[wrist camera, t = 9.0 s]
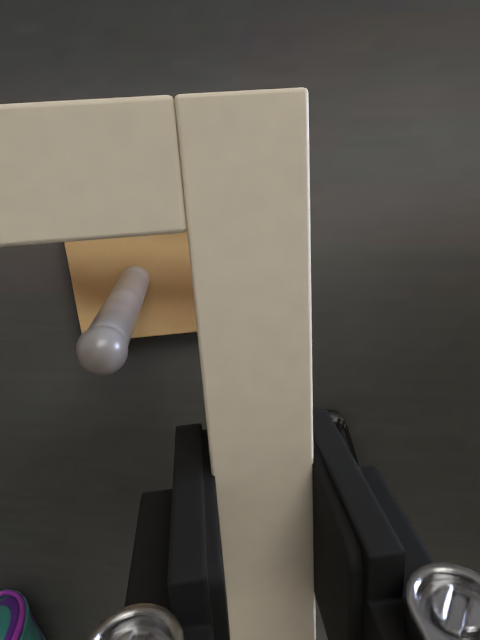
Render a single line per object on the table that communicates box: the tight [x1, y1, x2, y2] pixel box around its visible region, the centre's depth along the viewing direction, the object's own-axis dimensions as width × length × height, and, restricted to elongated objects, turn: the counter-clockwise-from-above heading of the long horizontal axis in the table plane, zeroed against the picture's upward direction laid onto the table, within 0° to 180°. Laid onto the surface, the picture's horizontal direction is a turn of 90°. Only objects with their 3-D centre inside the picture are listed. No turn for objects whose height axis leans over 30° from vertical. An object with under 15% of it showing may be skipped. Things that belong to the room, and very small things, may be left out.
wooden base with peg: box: [64, 228, 197, 376], centre depth 24 cm, size 8×8×14 cm
